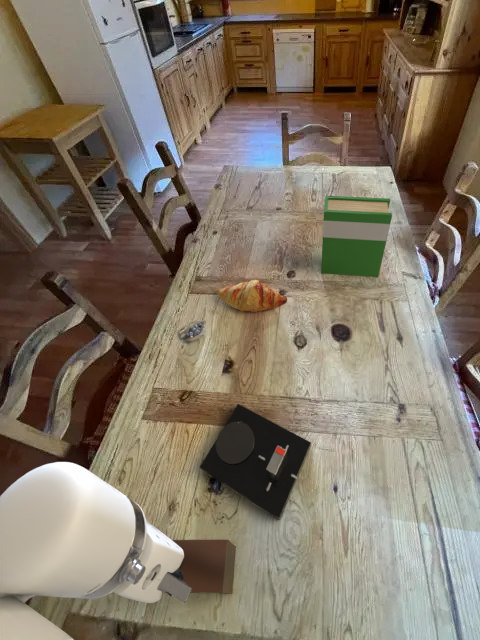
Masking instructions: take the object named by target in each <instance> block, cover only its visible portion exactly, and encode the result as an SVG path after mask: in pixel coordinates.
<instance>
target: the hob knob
mask: <svg viewBox="0 0 480 640" xmlns="http://www.w3.org/2000/svg"><path fill="white" fill-rule="evenodd" d="M287 459H288V458H287V450H285V449H283V448H281V447H280V446H277V447H276V450H275V452H274V454H273V456H272V458H271V460H270V462H269V464H268V466H267V468H266V471H267V474H268V477H270V478H272V479H273V480H275V481H278V478H279V476H280V474H281V472H282V470H283V467H284V465H285V463H286V461H287Z"/></svg>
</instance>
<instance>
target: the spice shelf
mask: <svg viewBox="0 0 480 640" xmlns="http://www.w3.org/2000/svg"><path fill="white" fill-rule="evenodd" d="M171 540H172V541H173V542H175V543H176V544H177V545H178V546H179V547H181V548H182V549H183V552H184V558H183V560H182V561H183V565H182V567H181V569H180V571H181V572H182V573H183V575H182V576H183V577H184V579H183V581H184V582H186V583H187V584H188V585H189V586H190V587H191V588H192V590H191V592H190V594H224V595H232V594H233V593H234V591H233V590H234V580H235V579H234V578H235V567H236V566H235V565H236V551H237V546H236V545H235V544H234V543H233V542H231V541H230V540H229V539H228V538H227V539H226V538H225V539H224V538H221V539H219V538H218V539H217V538H213V539H211V538H210V539H171Z"/></svg>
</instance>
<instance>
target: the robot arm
mask: <svg viewBox="0 0 480 640" xmlns="http://www.w3.org/2000/svg"><path fill="white" fill-rule="evenodd" d="M172 540H173V539H171V538H169V537H168V536H167V535H166V534H164V532H162V531H160V529H158V528H156V526H154V525H153V524H151V523H150V522H149V521H148V520H147V519H146V515H145V513H144V511H143V509H142V507H141V506H140V505H139V504H138V502H136V501H135V500H133V499H131V498H130V497H129V496H127V495H126V494H124V493H123V492H121V491H120V490H118V489H116V488H115V487H114V486H112V485H110V483H108V482H106V481H105V480H103V479H102V478H100V477H99V476H97V475H96V474H94V473H93V472H92V471H90V470H89V469H87V468H85V467H83V466H81V465H79V464H78V463H74V462H70V461H55V462H51V463H46V464H43V465H40V466H38V467H35V468H33V469H32V470H30V471H28V472H26V473H25V474H24V475H22V476H20V477H19V478H18V479H16V481H14V482H13V483H11V484H10V486H8V487H7V488H6V490H4V492H3V493H2V494H1V495H0V640H75V639H74V638H73V637H72V636H71V635H69V634H68V633H67V632H66V631H64V630H62V629H61V627H59V626H57V625H56V624H54V623H53V622H52V621H50V620H49V619H48V618H46V617H44V615H42V614H41V613H39V612H38V611H36V610H35V609H33V607H31V606H29V605H28V604H27V603H26V602H27V601H28V600H30V599H32V598H33V597H38V596H39V597H52V598H65V599H66V598H67V599H81V600H82V599H83V600H97V599H100V598H104V597H106V596H107V595H110V594H111V593H112V594H116V595H117V596H120V597H121V598H125V599H128V600H132V601H136V602H139V603H144V604H154V603H158V602H159V601H160V600H162V596H163V594H164V595H166V594H167V595H169V596H170V597H172V596H173V597H175V598H176V599H178V600H179V601H181V602H183V603H184V604H185V603H187V600H188V599H189V596H190V595H191V593H190V592H191V590H192V588H191V587H190V586H189V585H188V584H187V583H186V582H184V581H183V579H184V577H183V576H182V575H183V573H182V572H181V571H180V569H181V567H182V565H183V561H182V560H183V558H184V552H183V549H182V548H181V547H179V546H178V545H177V544H176V543H175V542H173V541H172Z"/></svg>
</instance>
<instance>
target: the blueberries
mask: <svg viewBox="0 0 480 640" xmlns="http://www.w3.org/2000/svg"><path fill="white" fill-rule="evenodd" d="M206 333H207V327H206V321H205V320H204V319H196V320H195V321H193V322H192V324H191V323H189V325H185V326H184V327H183V328H180V330H179V333H178V335H179V337H180V340H183V341H187V343H189V344H190V343H191V344H192V343H193V342H194V341H197V340H198V339H199V338H201V337H203V336H204V335H205V334H206Z"/></svg>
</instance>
